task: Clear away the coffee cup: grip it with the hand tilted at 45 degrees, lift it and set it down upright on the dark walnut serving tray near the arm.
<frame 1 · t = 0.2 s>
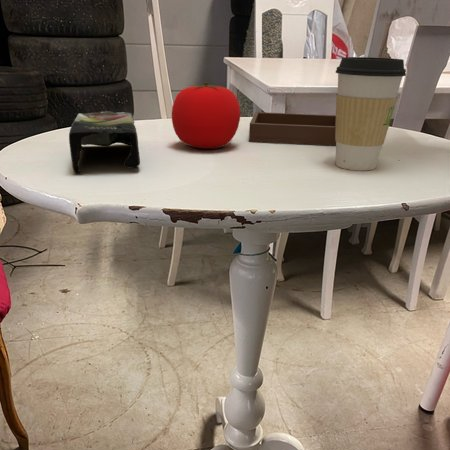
serving tray: (295, 136, 93), on the table
black box: (108, 159, 75), on the table
coffee cup: (355, 166, 74), on the table
tomato: (206, 147, 84), on the table
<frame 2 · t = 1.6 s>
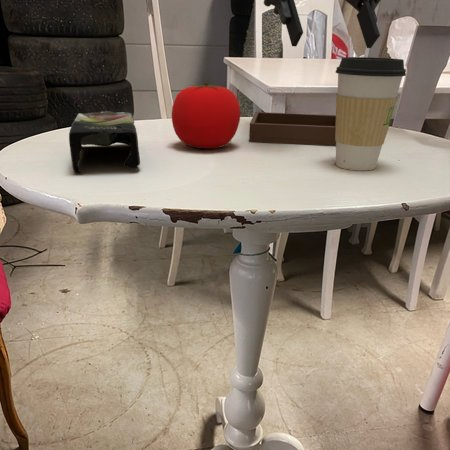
hand: (336, 40, 73), 17 cm above the table, tool tilted 45°, fingers open, 13 cm apart
nothing on the table moved.
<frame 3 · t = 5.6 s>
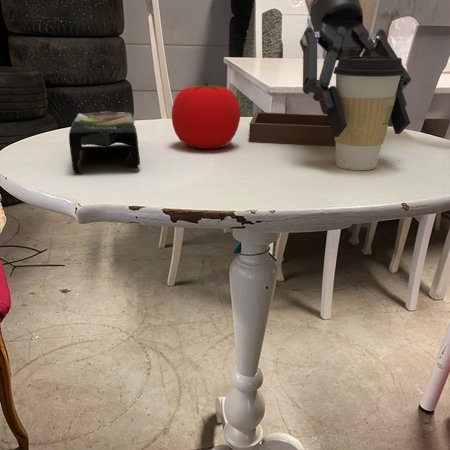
hand: (372, 129, 68), 6 cm above the table, tool tilted 45°, fingers closed on coffee cup, 10 cm apart
coffee cup: (355, 166, 74), on the table, touching gripper
everything else where it was.
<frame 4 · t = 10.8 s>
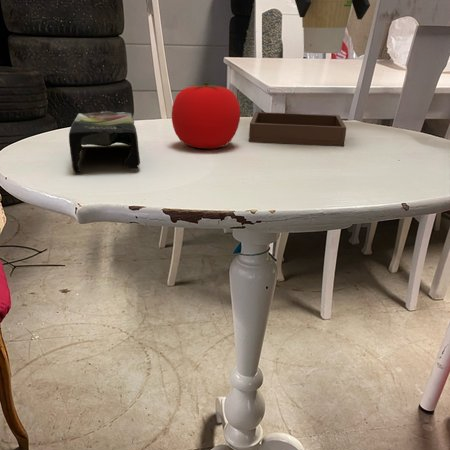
hand: (335, 11, 74), 21 cm above the table, tool tilted 45°, fingers closed on coffee cup, 10 cm apart
coffee cup: (322, 53, 80), point 15 cm above the table, touching gripper
everything else where it was.
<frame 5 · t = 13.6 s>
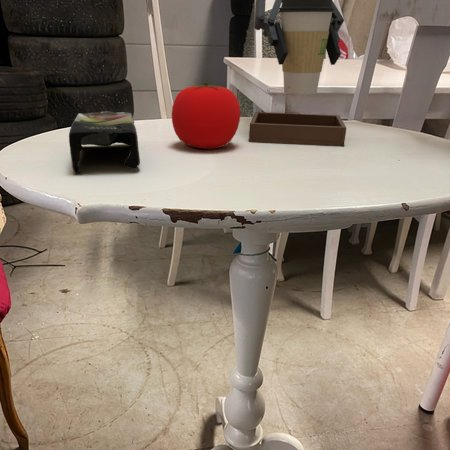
hand: (310, 59, 84), 14 cm above the table, tool tilted 45°, fingers closed on coffee cup, 10 cm apart
coffee cup: (300, 93, 90), point 8 cm above the table, touching gripper
everything else where it was.
when the fingers open (7 cm above the table, at t = 16.2 s): coffee cup stays where it is, resting on serving tray.
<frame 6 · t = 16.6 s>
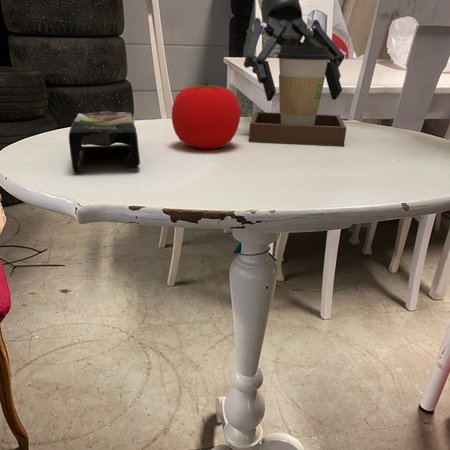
hand: (305, 95, 87), 8 cm above the table, tool tilted 45°, fingers open, 13 cm apart
coffee cup: (296, 133, 93), point 1 cm above the table, touching serving tray
everything else where it was.
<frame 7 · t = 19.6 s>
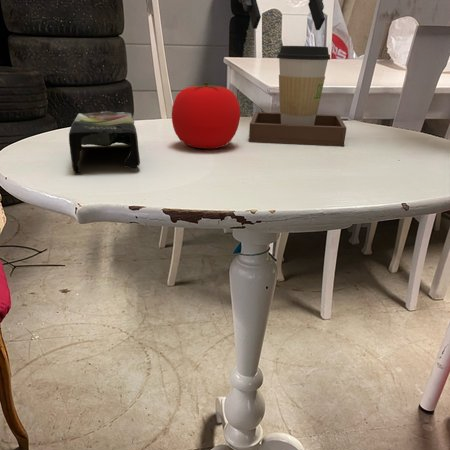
hand: (289, 24, 91), 19 cm above the table, tool tilted 45°, fingers open, 13 cm apart
nothing on the table moved.
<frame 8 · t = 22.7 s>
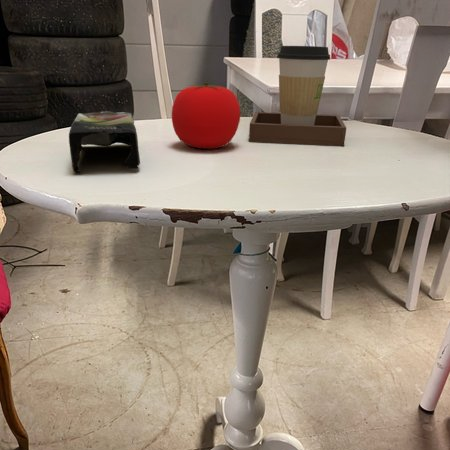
nothing on the table moved.
at the end: coffee cup 0.4 cm off-centre in the serving tray, point 0.6 cm above the serving tray's base; coffee cup tilted 0°; the gripper is holding nothing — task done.
